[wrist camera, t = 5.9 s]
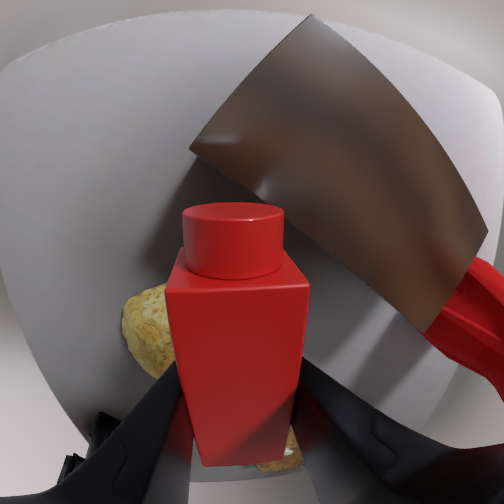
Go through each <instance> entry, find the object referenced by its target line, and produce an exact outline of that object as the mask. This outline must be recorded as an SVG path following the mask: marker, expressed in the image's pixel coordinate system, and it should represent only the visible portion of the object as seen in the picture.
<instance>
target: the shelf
mask: <svg viewBox="0 0 504 504" xmlns="http://www.w3.org/2000/svg"><path fill="white" fill-rule="evenodd" d="M189 150H190V151H192V152H193V153H194V154H195V155H197V156H198V157H199V158H201V159H202V160H204V161H205V162H207V163H208V164H210V165H211V166H212V167H214V168H215V169H217V170H218V171H220V172H221V173H223V174H225V175H226V176H228V177H229V178H230V179H232V180H233V181H235V182H236V183H237V184H239V185H240V186H242V187H243V188H244V189H246V190H247V191H248V192H250V193H251V194H253V195H254V196H255V197H257V198H258V199H259V200H261V201H262V202H263V203H265V204H268V205H273V206H277V207H279V208H281V209H283V211H284V218H285V219H286V220H287V221H289V222H290V223H291V224H292V225H294V226H295V227H296V228H298V229H299V230H300V231H302V232H303V233H304V234H305V235H307V236H308V237H309V238H310V239H312V240H313V241H314V242H316V243H317V244H318V245H319V246H321V247H322V248H323V249H324V250H326V251H327V252H328V253H329V254H331V255H332V256H333V257H334V258H336V259H337V260H338V261H339V262H340V263H342V264H343V265H344V266H345V267H347V268H348V269H349V270H350V271H351V272H353V273H354V274H355V275H356V276H357V277H359V278H360V279H361V280H362V281H363V282H365V283H366V285H368V286H369V287H370V288H371V289H372V290H373V291H375V292H376V293H377V294H378V295H379V296H381V297H382V298H383V299H384V300H385V301H386V302H388V303H389V304H390V305H391V306H392V307H393V308H395V309H396V310H397V311H398V312H399V313H400V314H401V315H403V316H404V317H405V318H406V319H407V320H408V321H409V322H411V323H412V324H413V325H414V326H415V327H416V328H417V329H418V330H420V331H421V332H422V333H424V332H425V331H426V330H427V329H428V327H429V326H430V325H431V323H432V322H433V321H434V319H435V318H436V317H437V315H438V314H439V313H440V311H441V310H442V308H443V307H444V306H445V304H446V303H447V301H448V300H449V298H450V297H451V295H452V294H453V292H454V291H455V289H456V288H457V286H458V285H459V283H460V282H461V280H462V278H463V277H464V275H465V273H466V272H467V270H468V268H469V267H470V265H471V263H472V262H473V260H474V258H475V256H476V254H477V253H478V251H479V249H480V247H481V245H482V243H483V241H484V239H485V237H486V235H487V233H488V229H487V227H486V224H485V222H484V220H483V218H482V216H481V214H480V212H479V209H478V207H477V205H476V203H475V201H474V200H473V198H472V196H471V194H470V192H469V190H468V188H467V186H466V185H465V183H464V181H463V179H462V178H461V176H460V174H459V172H458V171H457V169H456V168H455V166H454V164H453V163H452V161H451V160H450V158H449V156H448V155H447V153H446V152H445V150H444V149H443V147H442V146H441V144H440V143H439V141H438V140H437V139H436V137H435V136H434V134H433V133H432V132H431V130H430V129H429V128H428V126H427V125H426V124H425V122H424V121H423V120H422V118H421V117H420V116H419V115H418V113H417V112H416V111H415V110H414V108H413V107H412V106H411V105H410V104H409V102H408V101H407V100H406V99H405V98H404V97H403V95H402V94H401V93H400V92H399V91H398V90H397V89H396V88H395V87H394V85H393V84H392V83H391V82H390V81H389V80H388V79H387V78H386V77H385V76H384V75H383V74H382V73H381V72H380V71H379V70H378V69H377V68H376V67H375V66H374V65H373V64H372V63H371V62H370V61H369V60H368V59H367V58H366V57H365V56H363V55H362V54H361V53H360V52H359V51H358V50H357V49H356V48H354V47H353V46H352V45H351V44H350V43H349V42H348V41H346V40H345V39H344V38H343V37H341V36H340V35H339V34H338V33H337V32H335V31H334V30H333V29H331V28H330V27H329V26H328V25H326V24H325V23H324V22H322V21H321V20H319V19H318V18H317V17H315V16H314V15H312V14H311V15H309V16H308V17H307V18H306V19H305V20H303V21H302V22H301V23H300V24H299V25H298V26H297V27H296V28H295V29H293V30H292V31H291V32H290V33H289V34H288V35H287V36H286V37H285V38H284V39H283V40H282V41H281V42H280V43H279V44H278V45H277V46H276V47H275V48H274V49H273V50H272V51H271V52H270V53H269V54H268V55H267V56H266V57H265V58H264V59H263V60H262V61H261V62H260V63H259V64H258V65H257V66H256V67H255V68H254V69H253V70H252V71H251V72H250V74H249V75H248V76H247V77H246V78H245V79H244V80H243V81H242V82H241V84H240V85H239V86H238V87H237V88H236V89H235V90H234V91H233V93H232V94H231V95H230V96H229V97H228V98H227V100H226V101H225V102H224V103H223V104H222V106H221V107H220V108H219V109H218V110H217V112H216V113H215V114H214V115H213V117H212V118H211V119H210V120H209V122H208V123H207V124H206V126H205V127H204V128H203V129H202V131H201V132H200V133H199V135H198V136H197V137H196V139H195V140H194V141H193V143H192V144H191V145H190V147H189Z"/></svg>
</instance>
